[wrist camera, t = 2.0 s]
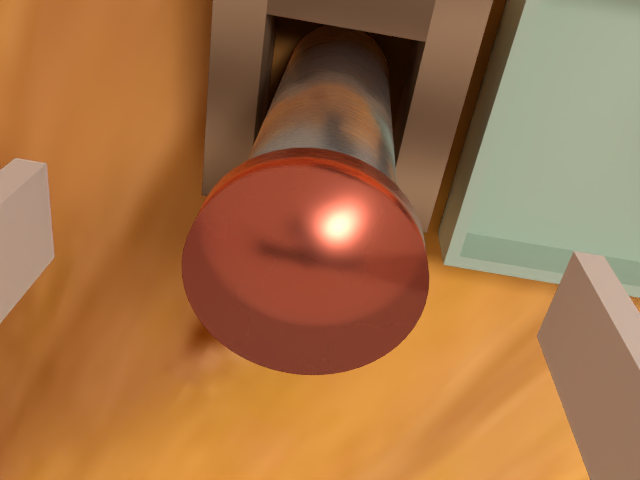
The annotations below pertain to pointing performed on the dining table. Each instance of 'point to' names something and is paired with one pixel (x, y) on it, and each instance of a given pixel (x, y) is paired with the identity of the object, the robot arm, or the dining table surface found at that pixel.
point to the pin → (313, 223)
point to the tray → (552, 146)
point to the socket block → (360, 14)
